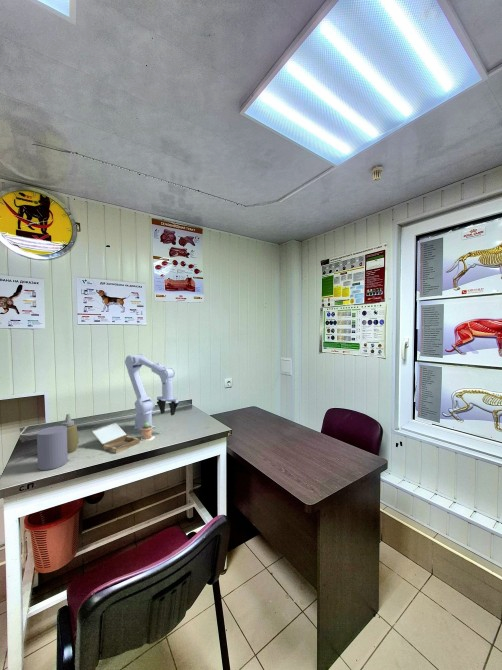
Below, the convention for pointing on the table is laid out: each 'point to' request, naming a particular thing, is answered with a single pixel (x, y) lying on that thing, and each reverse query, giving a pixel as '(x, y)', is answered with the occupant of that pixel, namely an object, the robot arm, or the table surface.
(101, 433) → the lid
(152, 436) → the saucer
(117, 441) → the cold frame
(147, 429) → the clay pot
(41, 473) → the table surface
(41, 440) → the container
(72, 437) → the squeeze bottle
